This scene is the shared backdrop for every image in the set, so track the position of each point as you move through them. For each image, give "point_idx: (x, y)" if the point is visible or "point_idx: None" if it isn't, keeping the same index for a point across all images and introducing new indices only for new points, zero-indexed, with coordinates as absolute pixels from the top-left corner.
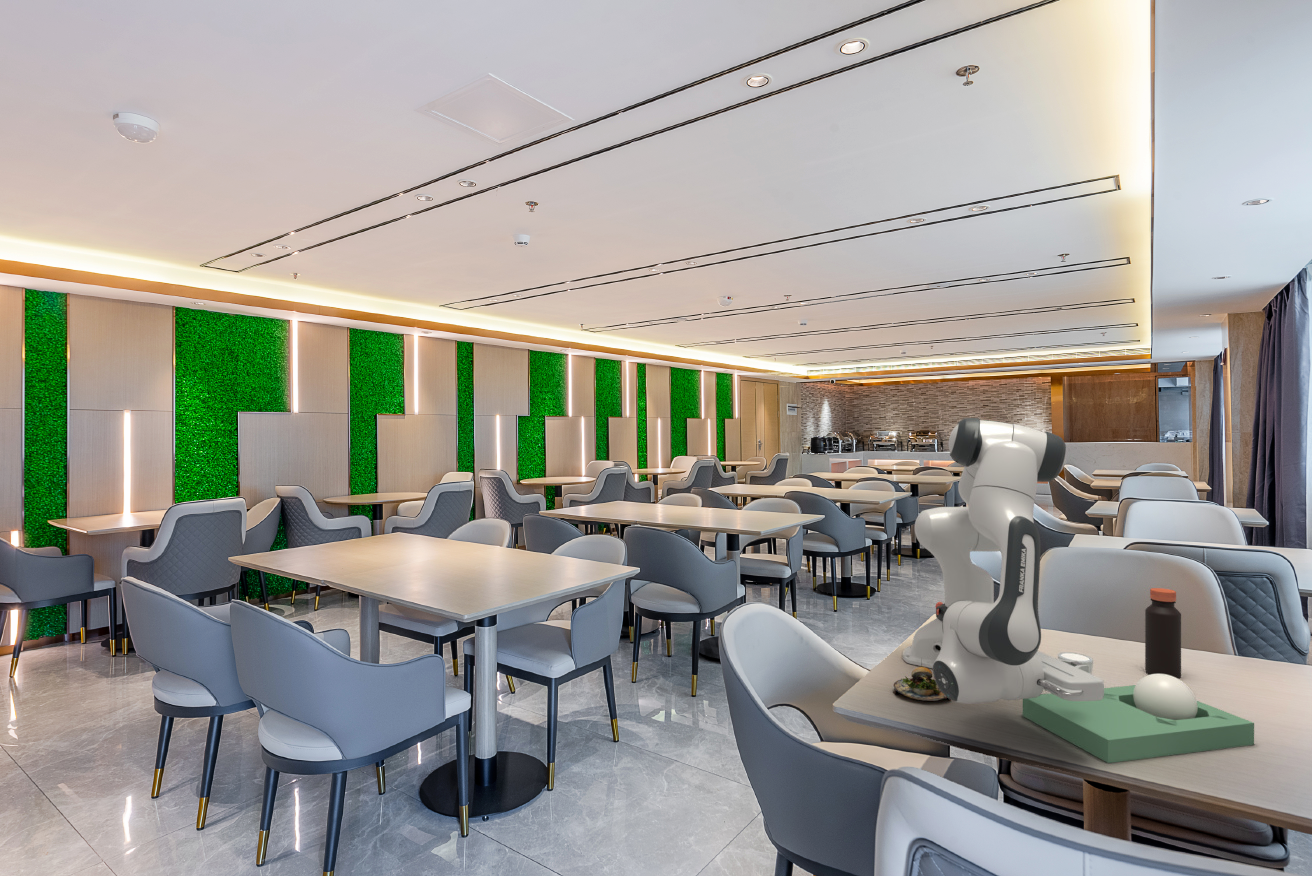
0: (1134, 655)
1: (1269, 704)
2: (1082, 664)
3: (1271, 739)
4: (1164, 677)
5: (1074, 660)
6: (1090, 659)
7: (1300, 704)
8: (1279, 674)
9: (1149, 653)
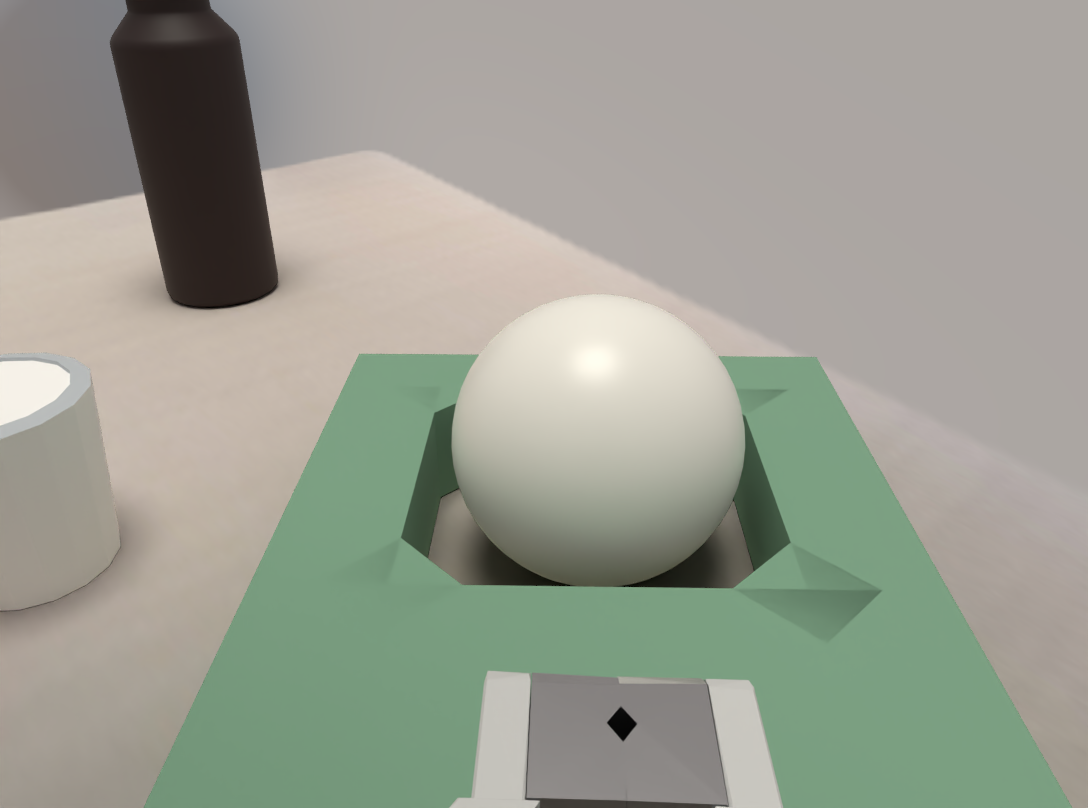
0: (73, 256)
1: (524, 261)
2: (689, 708)
3: None
4: (624, 320)
5: (488, 684)
6: (72, 370)
7: (546, 232)
8: (389, 179)
9: (180, 227)
